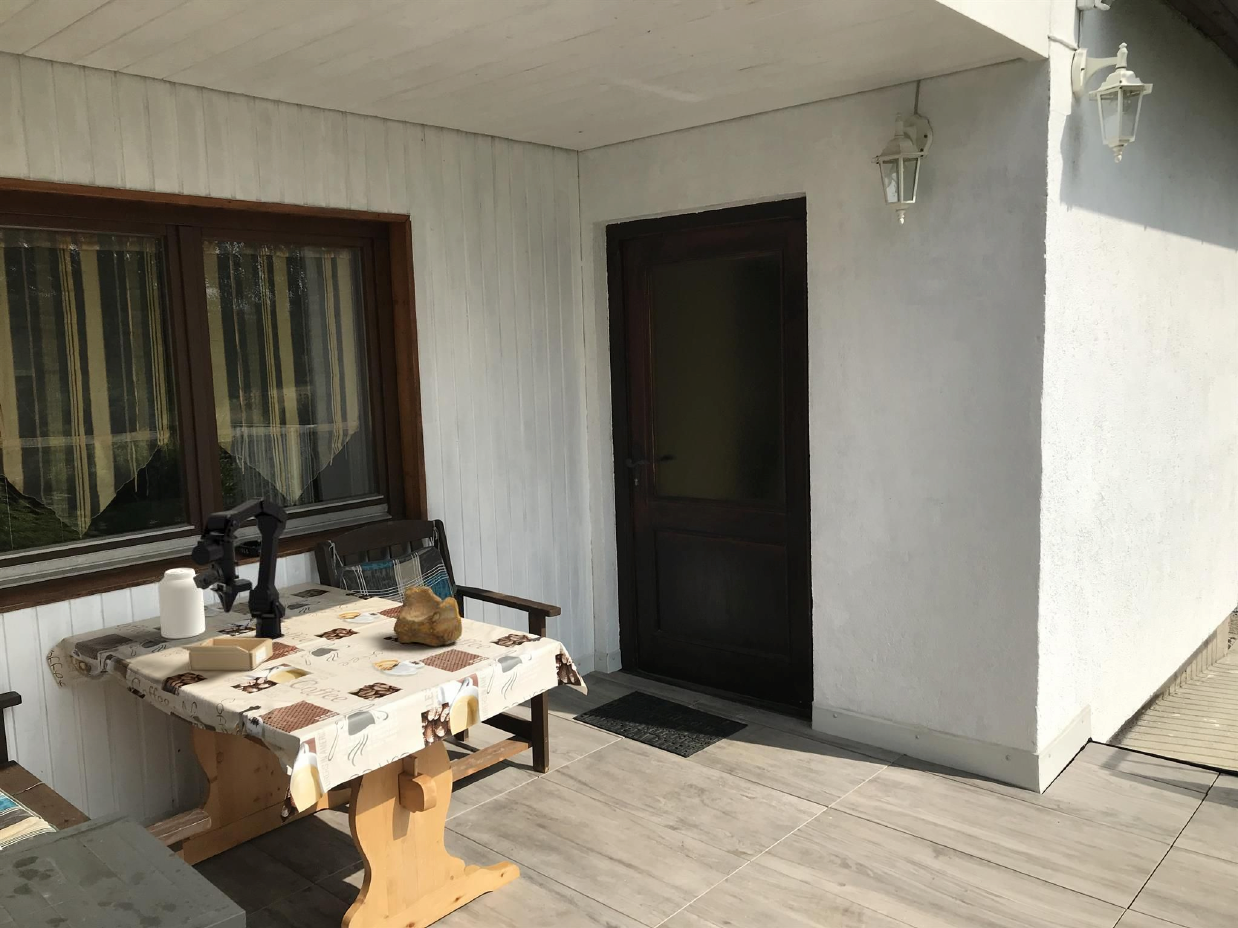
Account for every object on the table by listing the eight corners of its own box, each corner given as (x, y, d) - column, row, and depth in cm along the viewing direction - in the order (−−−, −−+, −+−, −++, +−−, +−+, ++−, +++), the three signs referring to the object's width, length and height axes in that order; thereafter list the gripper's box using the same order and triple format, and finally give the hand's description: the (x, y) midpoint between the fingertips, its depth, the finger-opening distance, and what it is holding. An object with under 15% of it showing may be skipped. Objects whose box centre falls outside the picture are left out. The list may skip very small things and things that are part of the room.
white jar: (174, 641, 295) (170, 576, 293) (153, 635, 303) (148, 571, 301) (213, 632, 305) (209, 568, 303) (191, 625, 313) (187, 563, 310)
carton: (212, 654, 282) (211, 637, 282) (274, 655, 281) (273, 638, 280) (189, 669, 269) (188, 651, 268) (253, 670, 268) (252, 652, 267)
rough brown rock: (377, 641, 296) (372, 594, 293) (423, 625, 307) (419, 580, 304) (421, 660, 280) (417, 610, 277) (468, 642, 291) (464, 595, 288)
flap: (191, 650, 268) (179, 645, 262) (248, 651, 267) (237, 645, 260) (191, 651, 268) (179, 646, 261) (247, 652, 267) (236, 647, 260)
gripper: (179, 558, 276) (182, 613, 278) (214, 567, 264) (217, 624, 266) (216, 552, 285) (220, 605, 286) (252, 560, 273) (255, 615, 275)
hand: (227, 612), depth 278 cm, fingers closed
